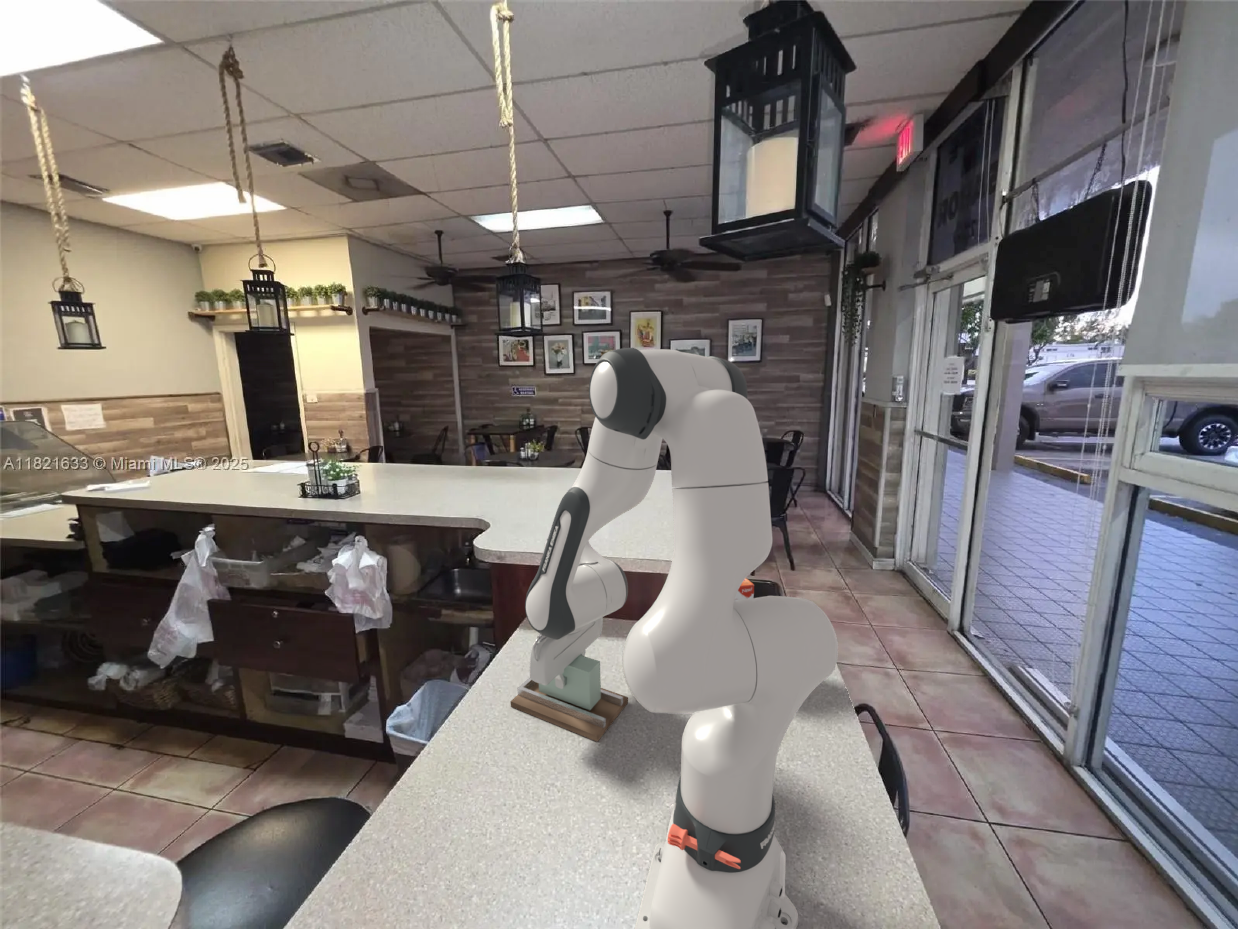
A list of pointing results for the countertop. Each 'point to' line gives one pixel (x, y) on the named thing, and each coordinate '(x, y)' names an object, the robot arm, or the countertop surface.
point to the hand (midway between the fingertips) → (569, 678)
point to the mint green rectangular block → (578, 683)
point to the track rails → (567, 708)
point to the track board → (568, 721)
